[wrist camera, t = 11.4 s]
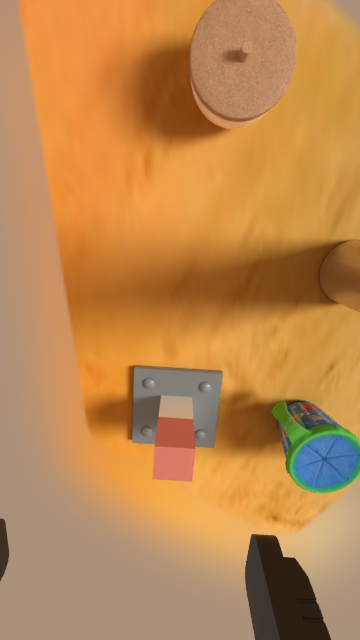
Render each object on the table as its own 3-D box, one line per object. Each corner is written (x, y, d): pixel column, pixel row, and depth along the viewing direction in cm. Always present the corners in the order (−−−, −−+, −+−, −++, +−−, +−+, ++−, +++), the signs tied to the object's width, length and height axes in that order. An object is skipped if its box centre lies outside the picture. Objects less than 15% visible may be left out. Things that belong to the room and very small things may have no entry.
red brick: (193, 419, 42) (195, 448, 36) (190, 448, 43) (191, 481, 38) (158, 417, 42) (154, 446, 36) (156, 446, 43) (152, 479, 37)
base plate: (221, 370, 47) (222, 374, 46) (213, 443, 51) (213, 448, 50) (135, 365, 47) (133, 368, 46) (133, 438, 51) (131, 443, 50)
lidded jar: (208, 156, 39) (216, 132, 30) (173, 67, 36) (170, 12, 27) (285, 116, 37) (318, 79, 28) (255, 21, 35) (281, -53, 26)
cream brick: (192, 397, 48) (193, 419, 42) (189, 423, 49) (190, 448, 43) (161, 395, 48) (158, 417, 42) (159, 421, 49) (156, 446, 43)
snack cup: (350, 431, 51) (390, 479, 41) (298, 464, 53) (325, 516, 43) (299, 368, 47) (329, 403, 37) (246, 405, 49) (262, 448, 39)
